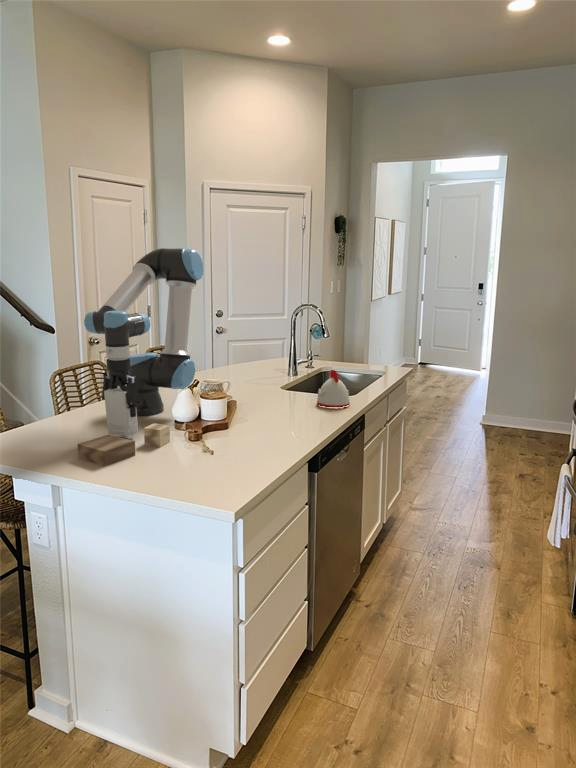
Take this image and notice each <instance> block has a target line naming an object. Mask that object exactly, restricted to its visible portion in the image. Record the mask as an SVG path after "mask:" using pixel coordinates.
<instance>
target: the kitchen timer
mask: <svg viewBox="0 0 576 768" xmlns="http://www.w3.org/2000/svg"><path fill="white" fill-rule="evenodd" d="M338 376H339V374H337V370H335V369H330V372H329V378H328V379H327V380H326V381H325V382H324V383H323V384H322V385H321V387H320V388H318V391H317V400H316V405H317V404H318V405H320V406H325V407H343V406H347V405H349V406H350V392H349V391H350V390H349V389H347V387H346V385H345V384H344V383H343V381H342V380H340V378H339V377H338ZM318 405H317V406H318Z"/></svg>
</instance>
